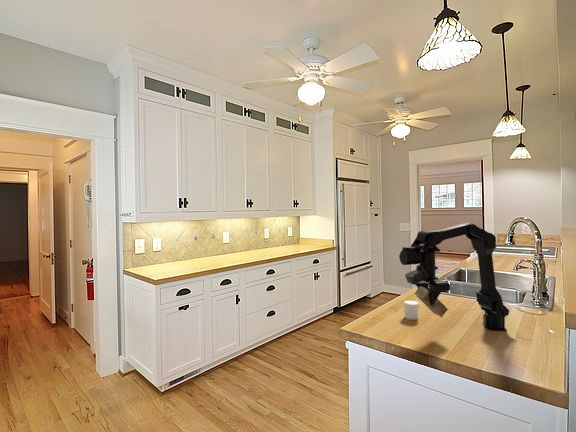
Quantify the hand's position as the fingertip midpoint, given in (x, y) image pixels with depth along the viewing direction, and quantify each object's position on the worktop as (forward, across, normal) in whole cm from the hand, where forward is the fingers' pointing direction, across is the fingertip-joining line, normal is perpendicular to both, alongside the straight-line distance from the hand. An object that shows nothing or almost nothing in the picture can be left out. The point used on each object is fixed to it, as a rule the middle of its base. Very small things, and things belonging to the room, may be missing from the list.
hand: (427, 302), depth 119 cm
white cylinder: (+13, -19, +5) cm, 23 cm away
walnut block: (+4, 0, +6) cm, 7 cm away
